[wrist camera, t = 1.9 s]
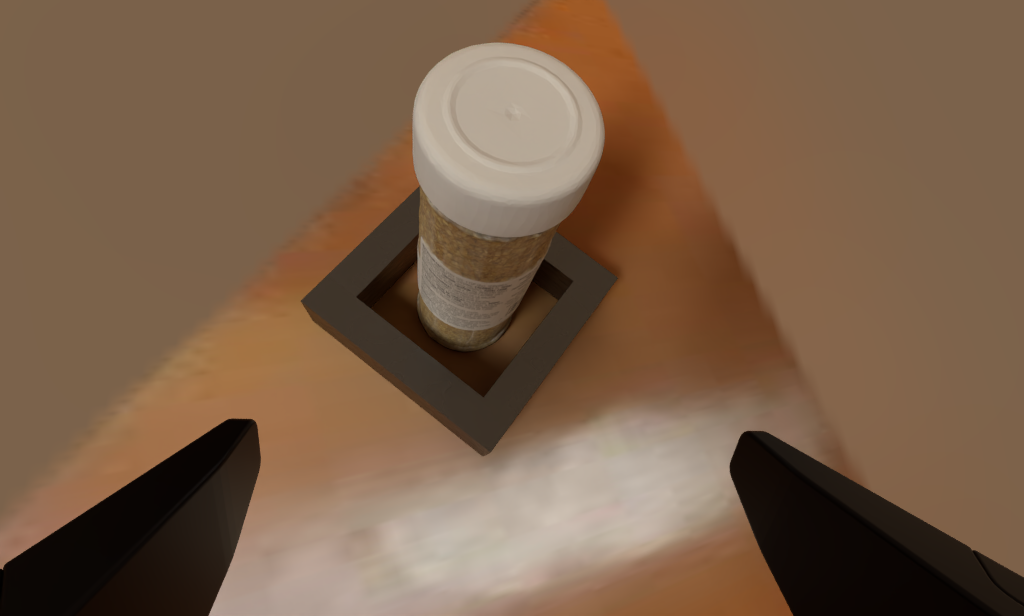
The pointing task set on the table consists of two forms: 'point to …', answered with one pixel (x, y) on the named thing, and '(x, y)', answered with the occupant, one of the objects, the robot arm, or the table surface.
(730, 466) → the robot arm
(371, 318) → the socket holder
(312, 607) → the table surface
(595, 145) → the sprinkles bottle
